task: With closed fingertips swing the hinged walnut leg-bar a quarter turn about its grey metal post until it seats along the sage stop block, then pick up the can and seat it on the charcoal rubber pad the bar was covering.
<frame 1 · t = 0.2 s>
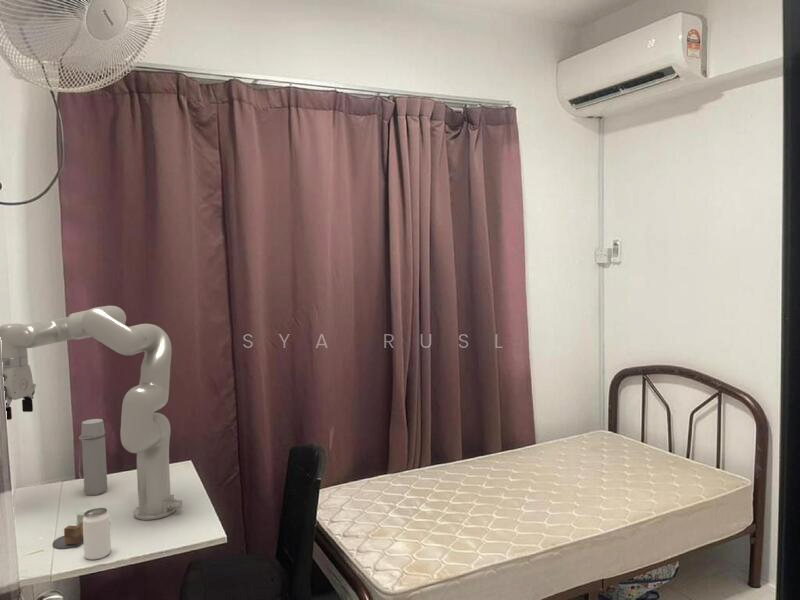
hand: (17, 415, 195), 31 cm above the table, fingers open, 9 cm apart
stop block: (85, 523, 186), on the table
pad: (70, 541, 174), on the table
water bottle: (93, 492, 211), on the table
bar: (82, 527, 175), point 3 cm above the table, hinge at 0.0°
can: (97, 555, 166), on the table
pivot post: (97, 527, 182), on the table
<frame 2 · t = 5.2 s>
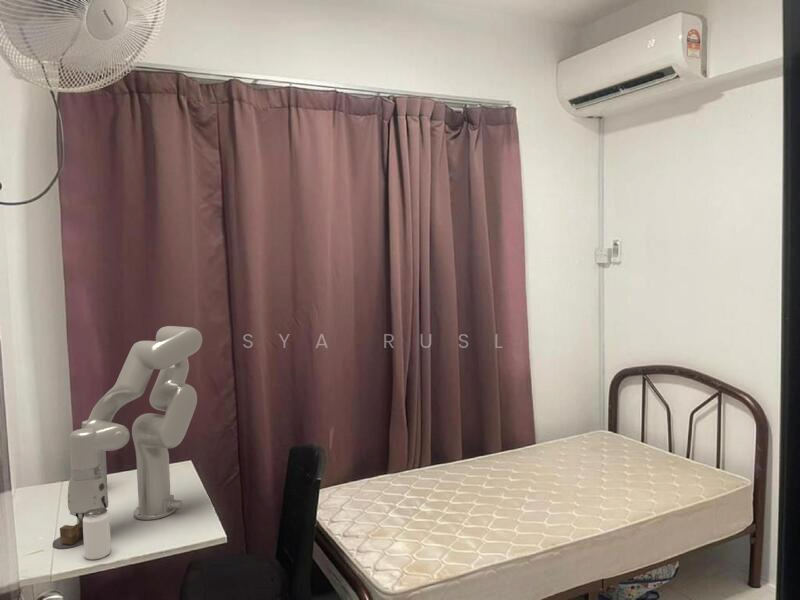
hand: (88, 535, 174), 2 cm above the table, fingers closed
bar: (79, 527, 175), point 3 cm above the table, hinge at 7.0°, touching gripper
everything else where it was.
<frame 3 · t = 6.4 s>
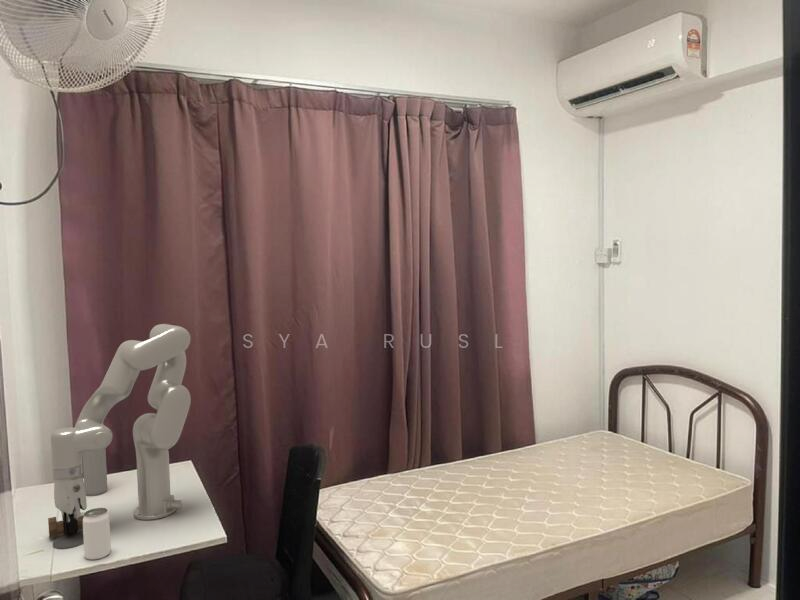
hand: (70, 533, 176), 1 cm above the table, fingers closed
bar: (70, 523, 179), point 3 cm above the table, hinge at 52.9°, touching gripper
everything else where it was.
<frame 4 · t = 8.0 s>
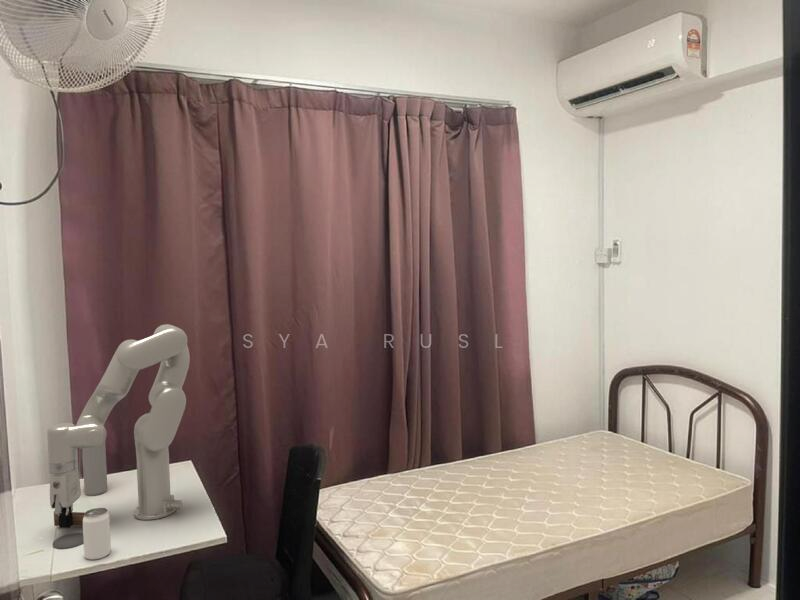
hand: (65, 526, 180), 2 cm above the table, fingers closed
bar: (75, 516, 183), point 3 cm above the table, hinge at 91.2°, touching gripper
everything else where it was.
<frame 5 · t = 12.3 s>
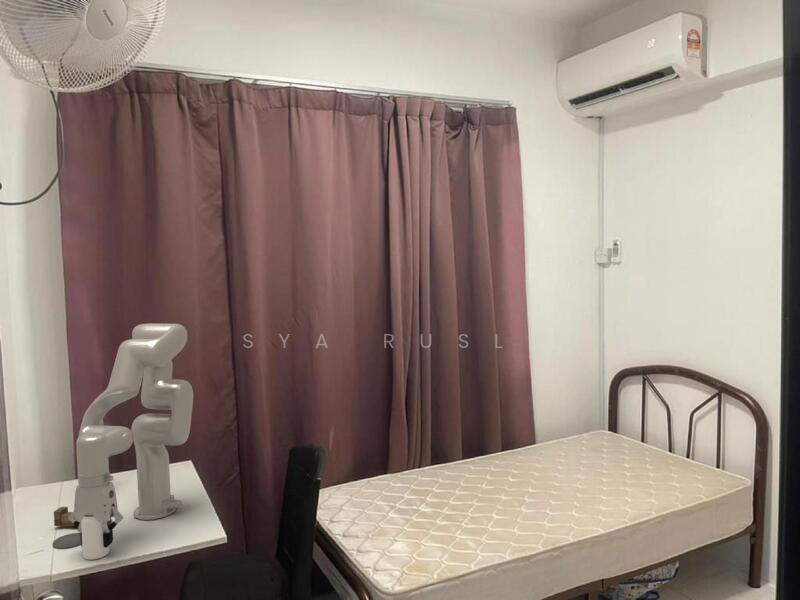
hand: (97, 544, 165), 3 cm above the table, fingers closed on can, 5 cm apart
bar: (75, 516, 183), point 3 cm above the table, hinge at 91.3°
can: (96, 555, 166), on the table, touching gripper
everything else where it was.
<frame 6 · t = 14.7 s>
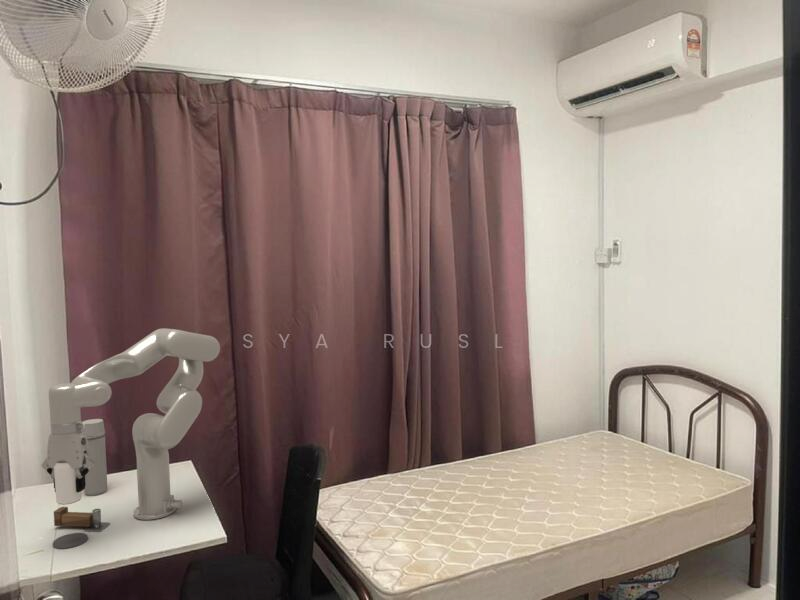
hand: (70, 489, 172), 15 cm above the table, fingers closed on can, 5 cm apart
can: (69, 501, 172), point 12 cm above the table, touching gripper
everything else where it was.
when the fingers open (5 cm above the table, at t = 17.2 s): can drops 1 cm, resting on pad.
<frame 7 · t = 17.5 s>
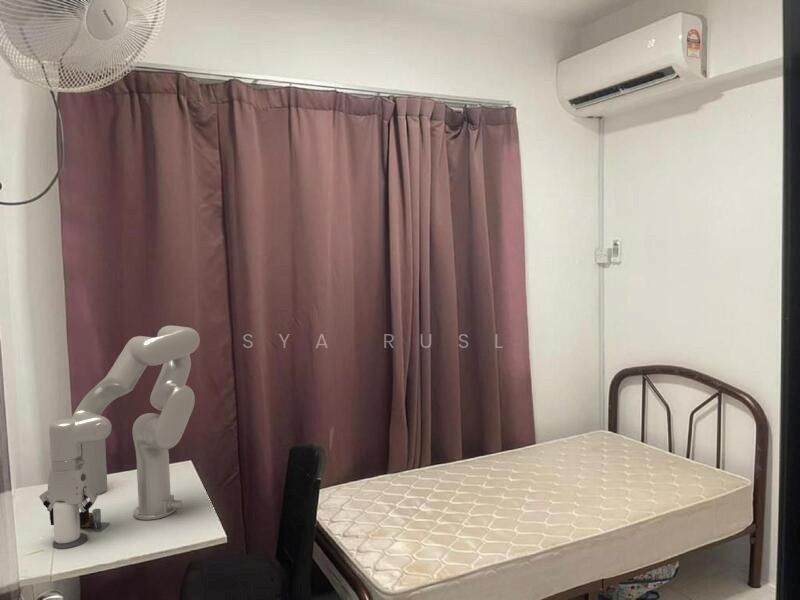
hand: (69, 523, 173), 5 cm above the table, fingers open, 8 cm apart
can: (67, 539, 174), resting on pad, touching gripper
everything else where it was.
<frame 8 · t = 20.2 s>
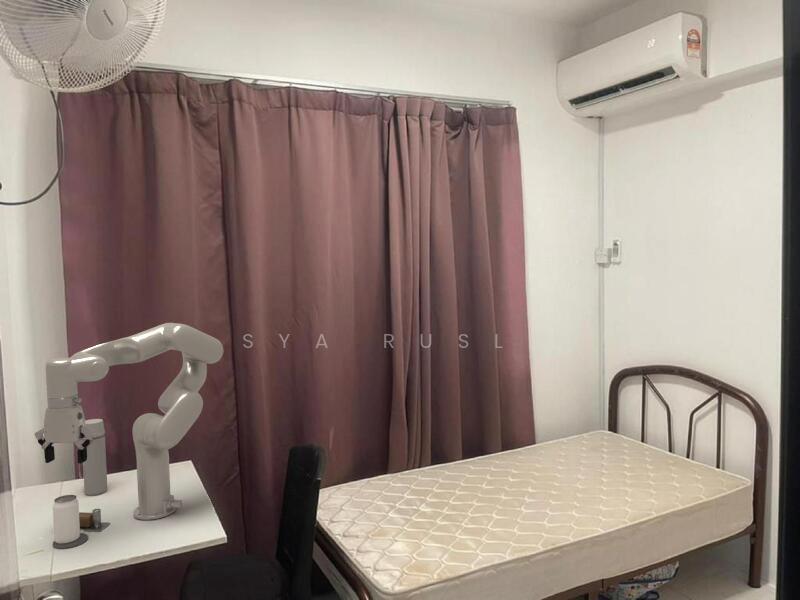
hand: (66, 461, 172), 23 cm above the table, fingers open, 9 cm apart
can: (67, 539, 174), resting on pad
everything else where it was.
at the end: bar at +91° (first picture: +0°); can 1.1 cm from the pad (horizontally); can tilted 0° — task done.
